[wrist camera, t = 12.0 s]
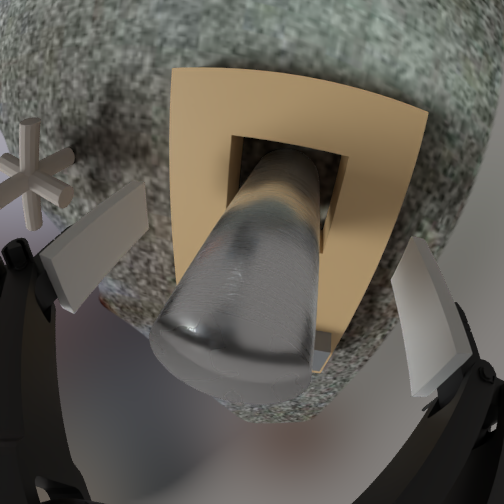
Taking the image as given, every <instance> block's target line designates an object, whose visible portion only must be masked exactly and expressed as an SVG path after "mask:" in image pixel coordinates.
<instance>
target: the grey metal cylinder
mask: <svg viewBox="0 0 504 504" xmlns="http://www.w3.org/2000/svg"><path fill="white" fill-rule="evenodd" d="M319 250H320V183H319V173H318V170H317V168H316V166H315V164H314V163H313V161H312V160H311V159H310V158H309V157H308V156H306V155H305V154H303V153H302V152H299V151H297V150H293V149H277V150H274V151H271V152H269V153H268V154H266V155H265V156H264V157H263V158H262V159H261V160H260V161H259V163H258V164H257V165H256V167H255V168H254V170H253V171H252V173H251V174H250V175H249V177H248V178H247V180H246V181H245V183H244V184H243V185H242V187H241V188H240V190H239V191H238V193H237V194H236V196H235V197H234V199H233V200H232V201H231V203H230V204H229V206H228V207H227V209H226V210H225V212H224V213H223V215H222V216H221V218H220V219H219V221H218V222H217V224H216V225H215V227H214V228H213V230H212V231H211V233H210V234H209V236H208V237H207V239H206V241H205V242H204V244H203V245H202V247H201V248H200V250H199V251H198V253H197V254H196V256H195V258H194V259H193V261H192V262H191V264H190V265H189V267H188V269H187V270H186V272H185V273H184V275H183V277H182V278H181V280H180V281H179V283H178V285H177V286H176V288H175V290H174V291H173V293H172V294H171V296H170V298H169V299H168V301H167V303H166V304H165V306H164V308H163V309H162V311H161V313H160V314H159V316H158V318H157V319H156V321H155V323H154V324H153V326H152V328H151V330H150V334H149V340H150V345H151V348H152V350H153V352H154V354H155V356H156V357H157V358H158V360H159V361H160V362H161V363H162V365H163V366H164V367H165V368H166V369H167V370H168V371H169V372H171V373H172V374H173V375H174V376H176V377H177V378H178V379H180V380H181V381H183V382H184V383H186V384H188V385H189V386H191V387H193V388H195V389H197V390H199V391H201V392H203V393H206V394H208V395H211V396H214V397H217V398H220V399H223V400H227V401H231V402H237V403H243V404H255V405H265V404H275V403H281V402H285V401H288V400H291V399H293V398H295V397H297V396H299V395H300V394H302V393H303V392H304V391H305V390H306V389H307V387H308V386H309V384H310V382H311V375H312V366H313V355H314V344H315V332H316V318H317V301H318V281H319Z"/></svg>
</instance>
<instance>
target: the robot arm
mask: <svg viewBox="0 0 504 504" xmlns="http://www.w3.org/2000/svg"><path fill="white" fill-rule="evenodd" d="M148 229H149V225H148V215H147V205H146V193H145V182H141V181H131V182H130V183H128V184H127V185H125V186H124V187H122V188H121V189H120V190H118V191H117V192H115V193H114V194H112V195H111V196H110V197H108V198H107V199H106V200H104V201H103V202H101V203H100V204H99V205H97V206H96V207H95V208H94V209H92V210H91V211H90V212H88V213H87V214H86V215H84V216H83V217H82V218H81V219H79V220H78V221H77V222H76V223H74V224H73V225H71V226H69V227H67V228H66V229H65V230H64V231H63V232H61V234H60V235H58V236H57V237H56V238H55V240H52V241H51V242H50V243H49V244H48V245H46V246H45V247H44V248H43V249H42V250H41V251H40V252H39V253H38V254H37V255H36V256H34V257H33V255H32V252H31V250H30V247H29V244H28V241H27V240H26V239H25V238H17V239H15V240H12V241H11V242H9V243H8V244H7V245H6V246H5V247H4V248H3V249H2V251H1V252H2V255H3V257H4V260H5V262H6V264H7V265H4V262H3V260H2V258H1V256H0V504H104V503H99V502H94V501H91V498H90V495H89V493H88V490H87V487H86V484H85V481H84V479H83V476H82V475H81V473H80V471H79V470H78V469H77V467H76V466H75V465H74V463H73V461H72V458H71V455H70V451H69V447H68V443H67V438H66V433H65V428H64V423H63V418H62V411H61V404H60V398H59V388H58V380H57V379H58V378H57V365H56V344H55V317H56V316H55V314H56V309H55V305H54V303H53V302H54V301H55V300H56V299H57V298H58V300H59V302H60V304H61V306H62V308H64V309H66V310H68V311H70V312H72V313H75V312H76V311H77V310H78V309H79V307H80V306H81V305H82V303H83V302H84V301H85V300H86V299H87V297H88V296H89V295H90V294H91V293H92V291H93V290H94V289H95V288H96V287H97V285H98V284H99V283H100V282H101V281H102V279H103V278H104V277H105V276H106V275H107V274H108V273H109V271H110V270H111V269H112V268H113V267H114V266H115V265H116V263H117V262H118V261H119V260H120V259H121V258H122V257H123V256H124V255H125V253H126V252H127V251H128V250H129V249H130V248H131V247H132V246H133V245H134V244H135V243H136V242H137V241H138V240H139V238H140V237H141V236H142V235H143V234H144V233H145V232H146V231H147V230H148ZM391 283H392V287H393V291H394V295H395V300H396V304H397V308H398V313H399V318H400V322H401V327H402V332H403V337H404V343H405V349H406V355H407V362H408V369H409V376H410V384H411V392H412V397H428V396H429V395H430V394H431V393H432V392H434V391H435V390H436V389H437V391H438V397H436V398H435V399H434V400H433V401H431V402H430V403H429V404H428V405H426V406H425V407H424V408H423V409H422V411H425V410H426V409H427V408H428V410H427V411H426V413H425V415H424V416H423V418H422V419H421V421H420V422H419V424H418V425H417V427H416V429H415V430H414V431H413V433H412V434H411V436H410V437H409V438H408V440H407V441H406V443H405V444H404V445H403V446H402V448H401V449H400V450H399V452H398V453H397V454H396V456H395V457H394V458H393V459H392V461H391V462H390V463H389V464H388V465H387V467H386V468H385V469H384V470H383V471H382V472H381V474H380V475H379V476H378V477H377V478H376V479H375V481H373V483H372V484H371V485H370V486H369V487H368V488H367V489H366V490H365V491H364V492H363V493H362V494H361V495H360V496H359V497H358V498H357V499H356V500H355V501H354V502H353V503H352V504H504V381H503V380H501V379H499V378H497V377H496V373H495V371H494V368H493V367H492V366H491V365H490V363H489V362H487V361H485V360H482V359H480V356H479V353H478V350H477V346H476V343H475V341H474V338H473V335H472V332H470V330H471V329H470V326H469V324H467V322H468V321H467V319H466V316H465V313H464V312H463V310H462V309H461V307H460V306H459V304H458V303H457V302H454V300H453V298H452V295H451V293H450V291H449V288H448V286H447V284H446V282H445V279H444V277H443V275H442V273H441V271H440V269H439V267H438V265H437V262H436V260H435V258H434V256H433V254H432V252H431V251H430V249H429V247H428V245H427V243H426V241H425V239H422V238H419V237H415V236H411V238H410V240H409V243H408V245H407V247H406V249H405V251H404V254H403V256H402V258H401V260H400V262H399V264H398V266H397V268H396V270H395V272H394V274H393V276H392V278H391ZM495 423H497V427H496V429H495V430H494V431H492V432H491V426H492V425H494V424H495ZM36 486H37V487H40V488H43V489H44V490H45V491H46V492H47V493H48V495H49V497H50V500H49V501H45V502H41V503H40V500H39V497H38V494H37V490H36Z"/></svg>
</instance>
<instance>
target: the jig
mask: <svg viewBox="0 0 504 504" xmlns="http://www.w3.org/2000/svg"><path fill="white" fill-rule="evenodd" d="M428 113H429V112H427V111H424V110H422V109H419V108H417V107H414V106H412V105H409V104H406V103H404V102H401V101H398V100H395V99H392V98H389V97H386V96H383V95H380V94H376V93H373V92H370V91H366V90H363V89H359V88H355V87H352V86H348V85H344V84H339V83H335V82H331V81H326V80H321V79H316V78H311V77H305V76H299V75H293V74H286V73H279V72H271V71H261V70H250V69H236V68H205V67H198V68H172V79H171V98H170V138H169V157H170V199H171V219H172V235H173V249H174V261H175V272H176V282H177V285H178V283H179V281H180V280H181V278H182V277H183V275H184V273H185V272H186V270H187V269H188V267H189V265H190V264H191V262H192V261H193V259H194V258H195V256H196V254H197V253H198V251H199V250H200V248H201V247H202V245H203V244H204V242H205V241H206V239H207V237H208V236H209V234H210V233H211V231H212V230H213V228H214V227H215V225H216V224H217V222H218V221H219V219H220V218H221V216H222V215H223V213H224V212H225V210H226V209H227V207H228V206H229V204H230V203H231V201H232V200H233V199H234V197H235V196H236V194H237V193H238V191H239V180H240V169H241V158H242V148H243V138H244V137H250V138H257V139H264V140H270V141H276V142H282V143H288V144H293V145H298V146H303V147H308V148H313V149H318V150H322V151H327V152H331V153H336V154H340V155H341V160H340V164H339V168H338V173H337V177H336V181H335V185H334V189H333V193H332V197H331V201H330V205H329V209H328V213H327V216H326V220H325V224H324V228H323V230H320V250H319V281H318V301H317V318H316V332H315V344H314V355H313V366H312V372H316V373H321V371H322V370H323V368H324V366H325V365H326V363H327V361H328V360H329V358H330V356H331V355H332V353H333V351H334V350H335V348H336V346H337V344H338V343H339V341H340V339H341V337H342V335H343V334H344V332H345V330H346V328H347V326H348V325H349V323H350V321H351V319H352V317H353V315H354V313H355V311H356V309H357V307H358V305H359V303H360V302H361V300H362V297H363V295H364V293H365V291H366V289H367V287H368V285H369V283H370V281H371V279H372V277H373V274H374V272H375V270H376V268H377V266H378V263H379V261H380V259H381V257H382V254H383V252H384V250H385V247H386V245H387V242H388V240H389V238H390V235H391V233H392V230H393V227H394V225H395V222H396V220H397V217H398V214H399V212H400V209H401V206H402V203H403V201H404V198H405V195H406V192H407V189H408V186H409V183H410V180H411V177H412V173H413V170H414V167H415V163H416V160H417V157H418V153H419V150H420V146H421V142H422V138H423V134H424V130H425V126H426V122H427V118H428Z"/></svg>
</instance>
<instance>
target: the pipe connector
mask: <svg viewBox="0 0 504 504" xmlns="http://www.w3.org/2000/svg"><path fill="white" fill-rule="evenodd" d="M40 120H41V119H39V118H28V119H24V120H23V121H21V122H20V129H19V159H18V158H16V157H15V156H13V155H11V154H9V153H5V154H3V155H2V156H1V157H0V171H2V172H3V173H5V174H6V175H8V176H9V177H10V178H8V179H7V180H5V181H4V182H2V183H1V184H0V209H2V208H3V207H4V206H6V205H7V204H9V203H10V202H12V201H13V200H14V199H16V198H17V197H19V196H20V195H22V201H23V209H24V216H25V222H26V228H27V229H28V230H30V231H36V230H38V229H40V228H41V226H42V223H43V222H42V212H41V201H40V196H42V197H43V198H45V199H47V200H48V201H50V202H52V203H53V204H55V205H57V206H58V207H60V208H62V209H63V208H65V207H67V206H68V205H69V204H70V202H71V200H72V198H73V194H74V190H73V187H71V186H70V185H68V184H66V183H64V182H62V181H60V180H58V179H56V178H54V177H53V176H52V175H54V174H56V173H58V172H59V171H61V170H63V169H65V168H67V167H68V166H70V165H72V164H73V163H74V160H75V156H74V152H73V151H72V149H71V148H68V147H67V148H64V149H62V150H60V151H58V152H56V153H54V154H52V155H50V156H48V157H46V158H44V159H42V160H40V161H39V135H40Z"/></svg>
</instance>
